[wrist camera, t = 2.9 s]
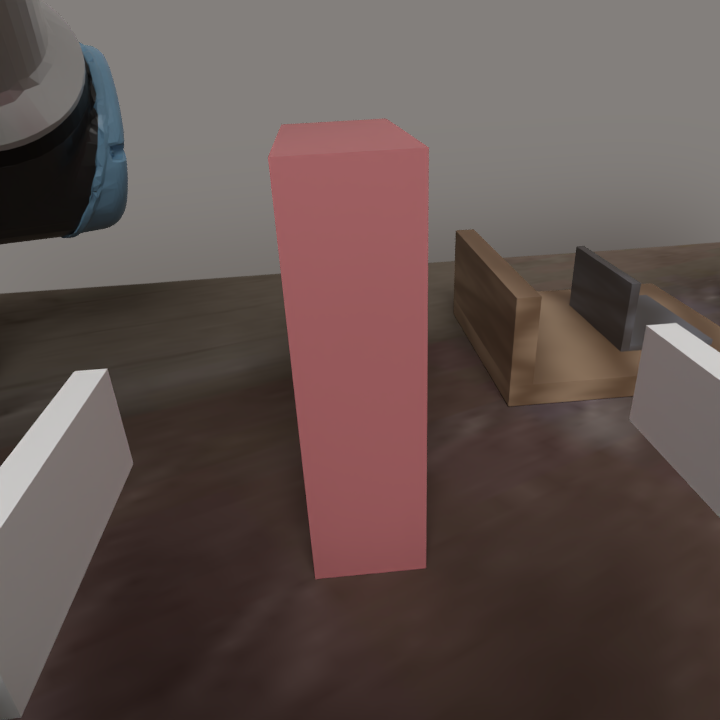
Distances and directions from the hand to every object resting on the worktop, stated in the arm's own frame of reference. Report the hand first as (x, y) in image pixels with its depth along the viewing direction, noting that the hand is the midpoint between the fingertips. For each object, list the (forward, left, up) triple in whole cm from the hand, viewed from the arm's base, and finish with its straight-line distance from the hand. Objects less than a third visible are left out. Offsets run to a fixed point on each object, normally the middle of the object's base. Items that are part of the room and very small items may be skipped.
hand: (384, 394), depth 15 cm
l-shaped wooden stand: (+6, +33, -13) cm, 36 cm away
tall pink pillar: (-5, +11, -13) cm, 18 cm away
